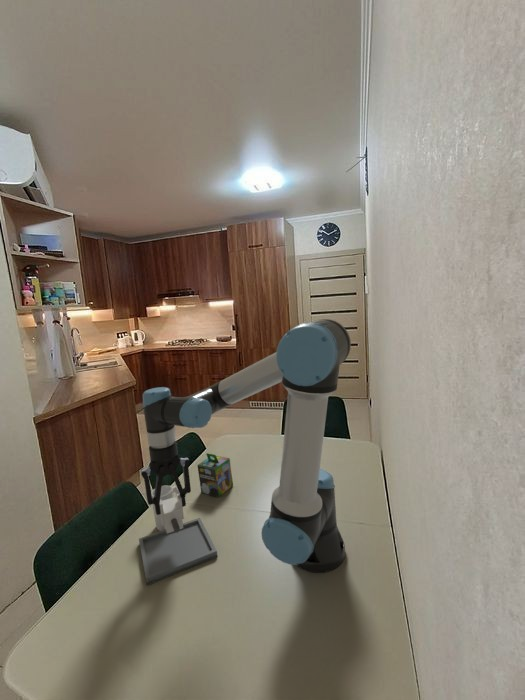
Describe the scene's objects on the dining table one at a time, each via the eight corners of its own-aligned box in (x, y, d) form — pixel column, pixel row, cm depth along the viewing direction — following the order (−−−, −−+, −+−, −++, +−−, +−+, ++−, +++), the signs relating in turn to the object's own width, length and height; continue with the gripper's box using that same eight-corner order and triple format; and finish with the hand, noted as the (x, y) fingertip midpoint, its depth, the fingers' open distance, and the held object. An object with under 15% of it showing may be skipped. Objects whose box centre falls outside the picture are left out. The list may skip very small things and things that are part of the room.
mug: (164, 534, 109) (159, 498, 107) (151, 527, 113) (146, 493, 111) (188, 517, 117) (184, 483, 115) (175, 511, 121) (171, 479, 119)
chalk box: (233, 486, 134) (229, 449, 132) (218, 498, 127) (214, 460, 125) (215, 481, 139) (211, 446, 137) (200, 492, 132) (195, 455, 130)
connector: (187, 538, 94) (184, 517, 93) (170, 544, 92) (167, 523, 91) (176, 509, 107) (173, 491, 106) (161, 514, 105) (158, 496, 104)
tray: (217, 556, 97) (216, 550, 97) (147, 585, 89) (146, 578, 89) (200, 522, 113) (199, 517, 113) (139, 544, 105) (138, 538, 105)
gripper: (190, 431, 104) (198, 504, 107) (128, 446, 96) (139, 523, 100) (196, 439, 97) (205, 516, 100) (130, 456, 90) (142, 538, 93)
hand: (172, 519), depth 100 cm, fingers closed on connector, 5 cm apart
